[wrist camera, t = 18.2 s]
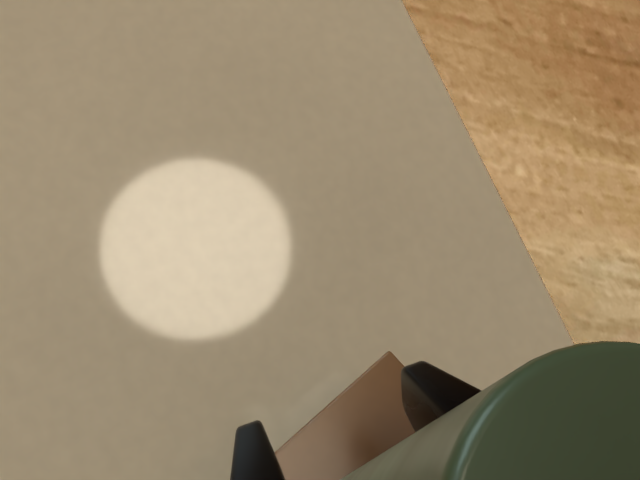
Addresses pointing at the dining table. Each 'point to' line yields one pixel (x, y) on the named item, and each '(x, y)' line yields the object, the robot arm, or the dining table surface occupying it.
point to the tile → (234, 229)
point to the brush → (485, 425)
